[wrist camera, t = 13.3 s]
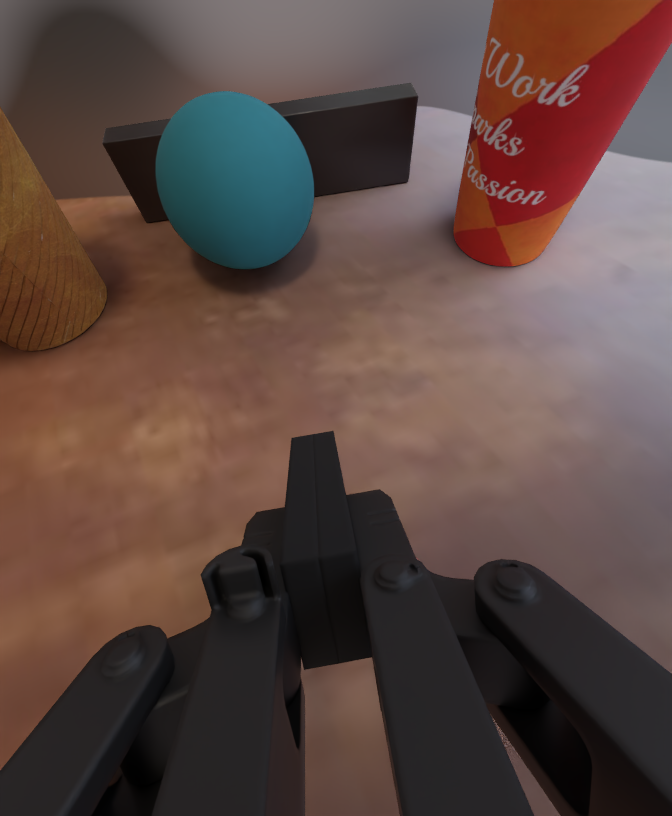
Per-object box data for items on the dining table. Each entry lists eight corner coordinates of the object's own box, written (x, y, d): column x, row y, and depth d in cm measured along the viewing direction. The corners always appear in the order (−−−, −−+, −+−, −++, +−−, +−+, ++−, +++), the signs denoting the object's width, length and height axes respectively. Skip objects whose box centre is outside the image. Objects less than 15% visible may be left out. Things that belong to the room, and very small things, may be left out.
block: (402, 168, 27) (411, 82, 22) (408, 182, 26) (418, 95, 22) (147, 208, 26) (105, 127, 22) (146, 223, 26) (101, 143, 21)
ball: (335, 126, 16) (342, 266, 23) (262, 33, 18) (289, 184, 26) (148, 196, 15) (218, 319, 22) (102, 87, 17) (178, 228, 25)
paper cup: (417, 208, 25) (477, -190, 12) (527, 184, 25) (690, -220, 13) (465, 295, 21) (618, -144, 9) (593, 265, 22) (905, -188, 9)
